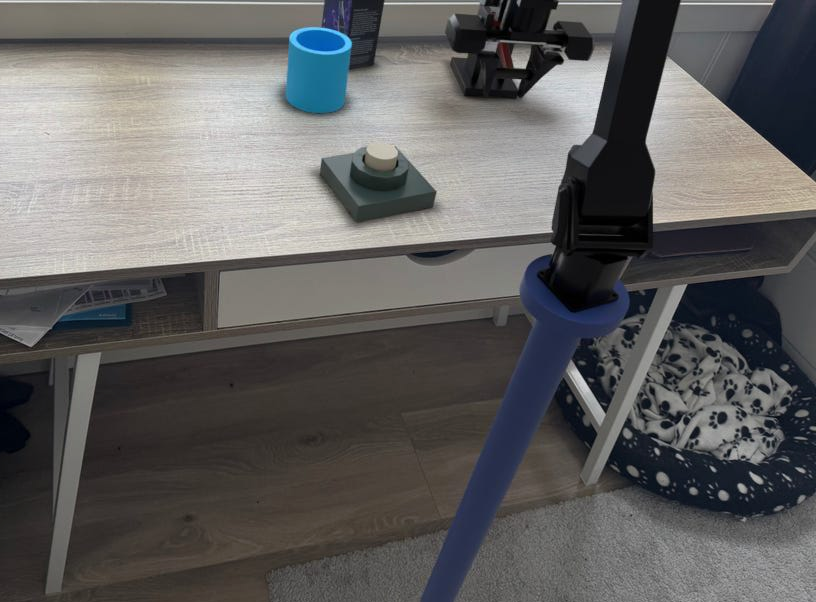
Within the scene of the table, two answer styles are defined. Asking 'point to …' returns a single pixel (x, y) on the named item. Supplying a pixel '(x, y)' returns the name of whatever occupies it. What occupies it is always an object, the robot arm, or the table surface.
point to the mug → (317, 69)
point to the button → (381, 156)
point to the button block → (376, 186)
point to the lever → (508, 62)
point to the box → (356, 26)
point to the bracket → (471, 69)
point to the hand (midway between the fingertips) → (502, 95)
